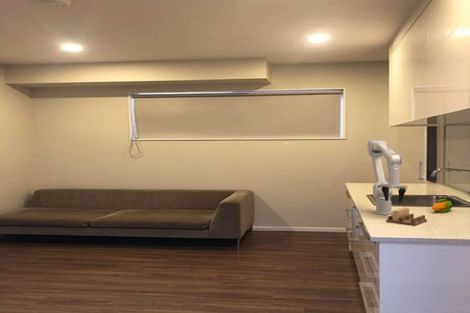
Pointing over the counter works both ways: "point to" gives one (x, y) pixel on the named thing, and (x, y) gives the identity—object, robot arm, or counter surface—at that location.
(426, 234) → the counter surface
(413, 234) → the counter surface
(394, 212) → the clay bar
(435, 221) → the counter surface
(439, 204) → the corn
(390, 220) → the drying rack
